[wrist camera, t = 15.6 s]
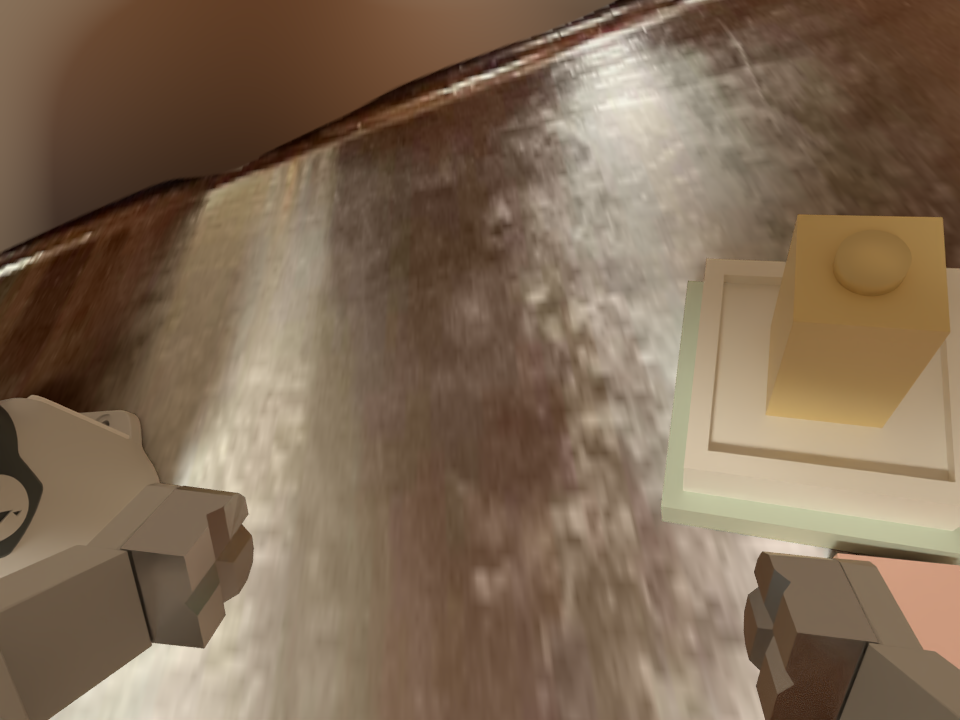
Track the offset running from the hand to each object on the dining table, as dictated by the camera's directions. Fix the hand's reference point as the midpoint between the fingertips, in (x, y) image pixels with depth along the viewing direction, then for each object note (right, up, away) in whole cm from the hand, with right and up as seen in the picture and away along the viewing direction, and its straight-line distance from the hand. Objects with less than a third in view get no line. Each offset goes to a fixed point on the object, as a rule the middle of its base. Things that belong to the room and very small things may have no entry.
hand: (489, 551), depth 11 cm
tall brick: (+17, +2, +22) cm, 28 cm away
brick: (+20, -10, +22) cm, 31 cm away
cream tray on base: (+18, 0, +27) cm, 33 cm away
